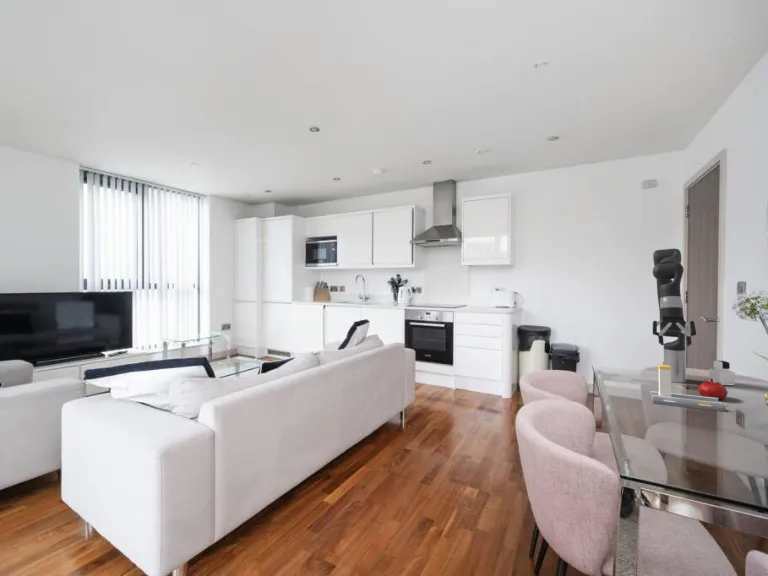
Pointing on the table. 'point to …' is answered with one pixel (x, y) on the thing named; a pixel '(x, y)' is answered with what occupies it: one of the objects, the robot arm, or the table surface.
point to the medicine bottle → (722, 373)
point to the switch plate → (688, 401)
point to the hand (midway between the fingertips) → (674, 345)
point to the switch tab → (664, 380)
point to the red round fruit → (713, 390)
